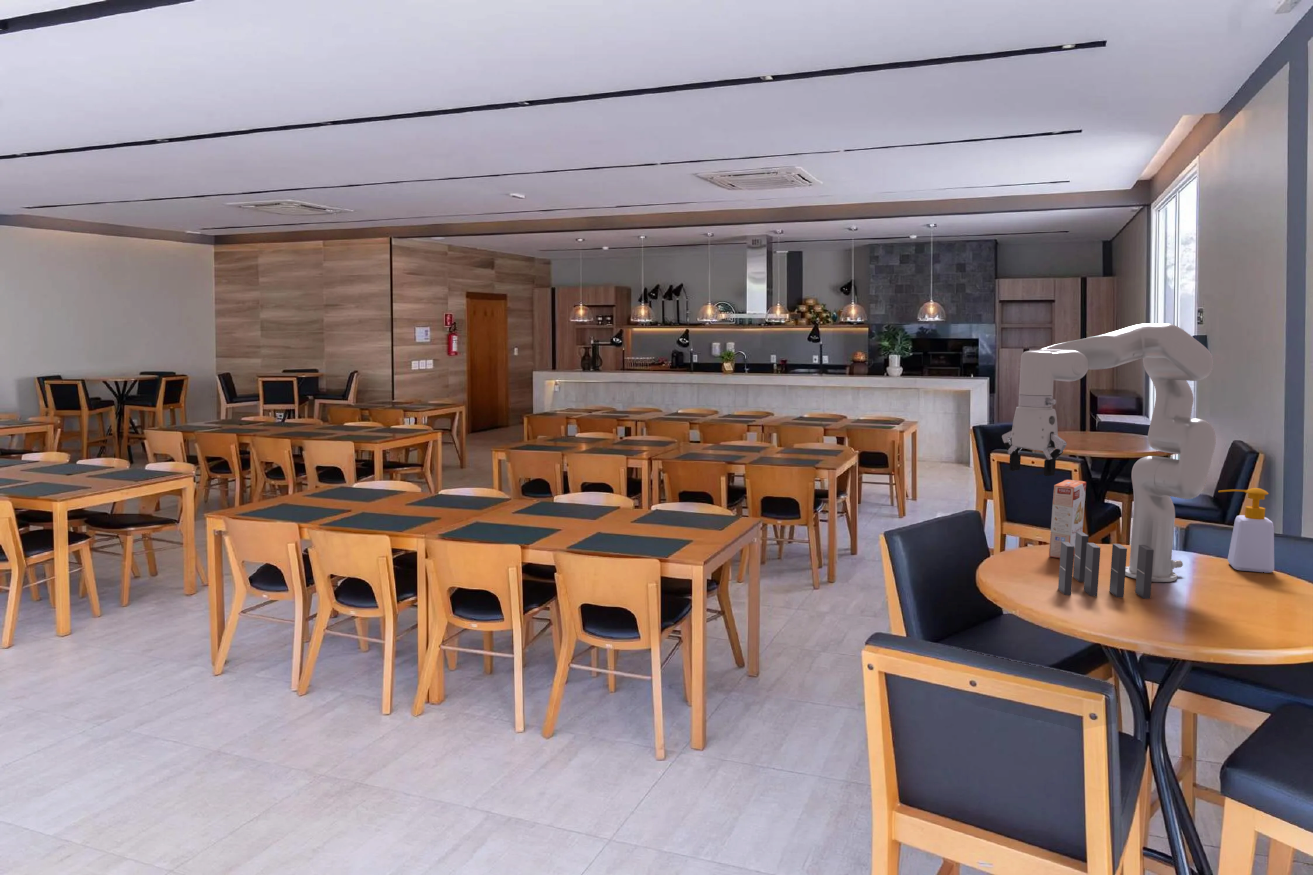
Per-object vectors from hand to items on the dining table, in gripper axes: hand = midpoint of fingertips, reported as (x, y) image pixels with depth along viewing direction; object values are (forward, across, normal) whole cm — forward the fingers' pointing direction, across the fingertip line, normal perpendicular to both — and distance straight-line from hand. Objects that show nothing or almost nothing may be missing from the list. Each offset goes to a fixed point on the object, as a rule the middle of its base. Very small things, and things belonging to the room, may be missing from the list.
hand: (1031, 472), depth 222 cm
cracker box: (+30, +19, -42) cm, 55 cm away
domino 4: (+30, -13, -17) cm, 36 cm away
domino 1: (+29, -5, -8) cm, 31 cm away
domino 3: (+30, -9, -12) cm, 33 cm away
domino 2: (+30, 0, -21) cm, 36 cm away
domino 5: (+30, -17, -22) cm, 40 cm away
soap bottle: (+30, -14, -72) cm, 79 cm away
